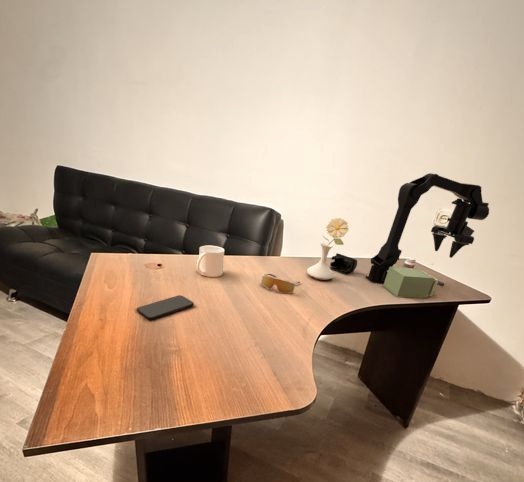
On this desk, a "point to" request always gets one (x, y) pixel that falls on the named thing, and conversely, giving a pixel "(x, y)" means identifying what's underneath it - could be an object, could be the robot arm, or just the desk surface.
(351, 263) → the end cap
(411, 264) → the pill bottle
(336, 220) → the flower in vase
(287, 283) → the sunglasses
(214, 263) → the mug
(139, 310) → the smartphone
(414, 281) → the cabinet
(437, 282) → the drawer
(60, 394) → the desk surface
